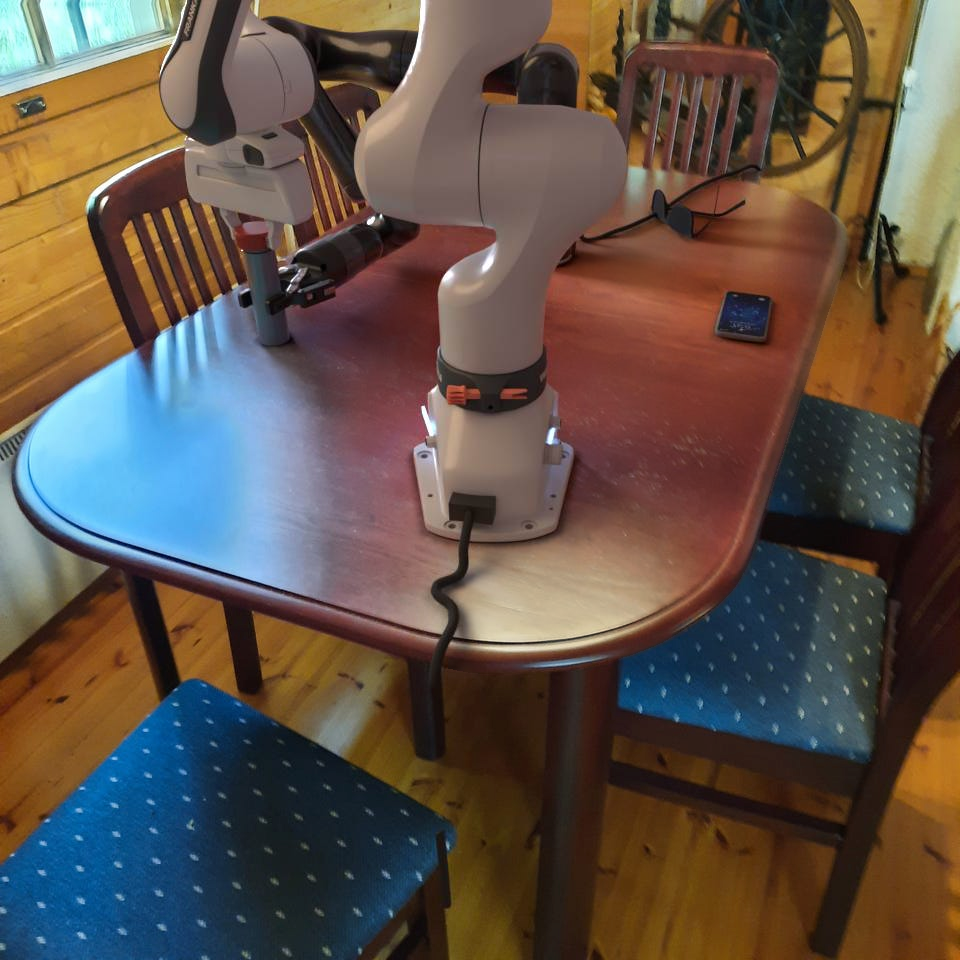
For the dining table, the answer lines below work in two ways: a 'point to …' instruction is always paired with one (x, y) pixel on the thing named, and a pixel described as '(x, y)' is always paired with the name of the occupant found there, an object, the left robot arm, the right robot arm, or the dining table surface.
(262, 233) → the lid
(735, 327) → the smartphone
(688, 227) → the sunglasses
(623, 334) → the dining table surface
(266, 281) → the bottle
